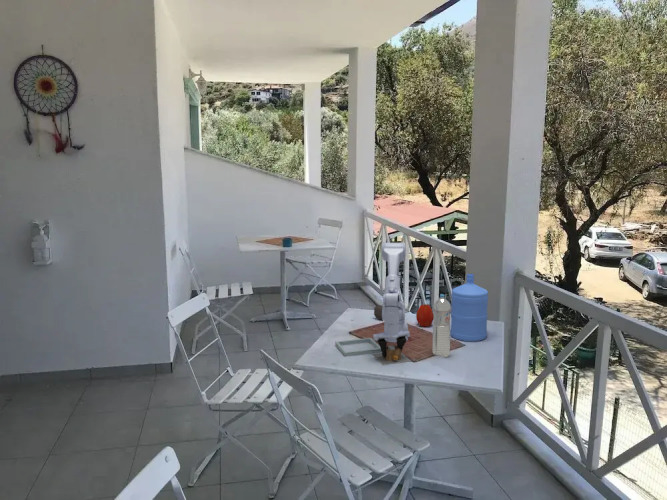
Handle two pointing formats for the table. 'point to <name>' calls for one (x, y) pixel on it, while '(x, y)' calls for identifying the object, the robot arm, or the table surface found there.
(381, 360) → the post board
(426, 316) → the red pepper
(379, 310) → the perforated stone tool
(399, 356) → the walnut collar
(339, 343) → the pale green tray
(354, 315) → the table surface
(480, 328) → the water jug
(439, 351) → the water bottle
